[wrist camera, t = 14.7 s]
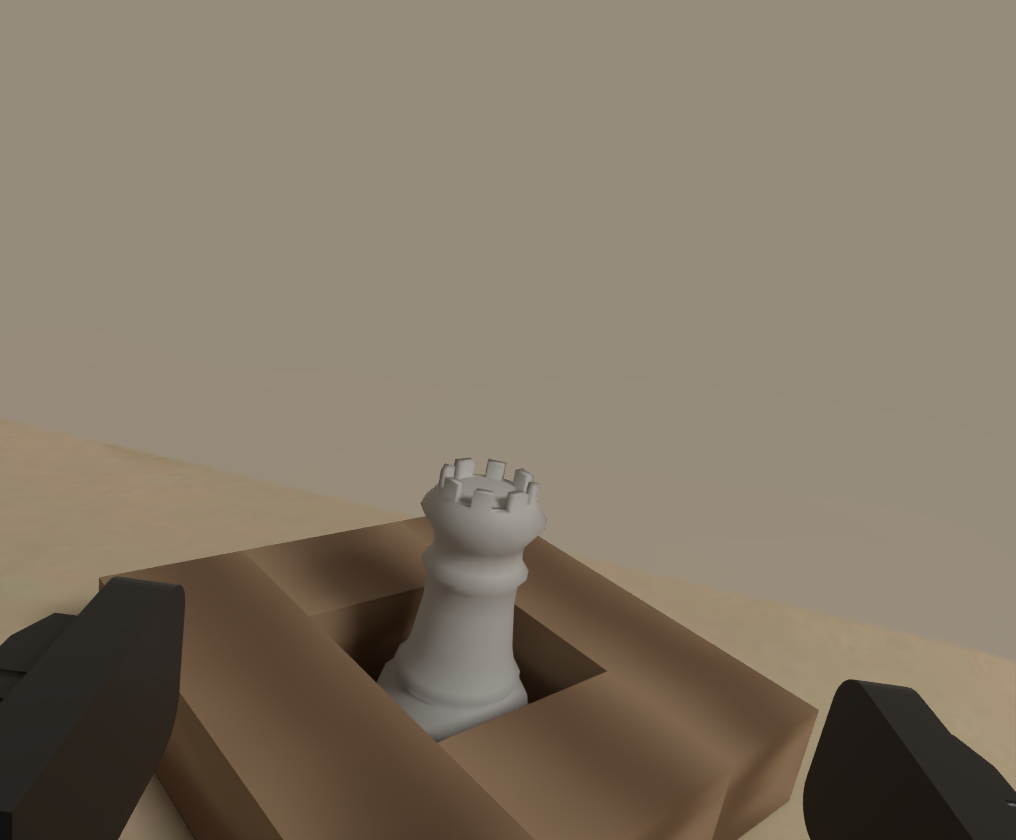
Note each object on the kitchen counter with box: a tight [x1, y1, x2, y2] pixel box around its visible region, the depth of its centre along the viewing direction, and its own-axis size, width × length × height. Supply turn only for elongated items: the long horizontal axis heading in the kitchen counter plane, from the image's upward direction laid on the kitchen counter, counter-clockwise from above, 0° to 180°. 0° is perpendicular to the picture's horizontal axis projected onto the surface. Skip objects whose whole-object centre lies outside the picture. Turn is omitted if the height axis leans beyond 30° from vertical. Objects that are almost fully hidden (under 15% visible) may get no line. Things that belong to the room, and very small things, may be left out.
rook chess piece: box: [377, 458, 547, 743], centre depth 22 cm, size 4×4×8 cm
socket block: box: [99, 516, 819, 840], centre depth 23 cm, size 14×14×3 cm
